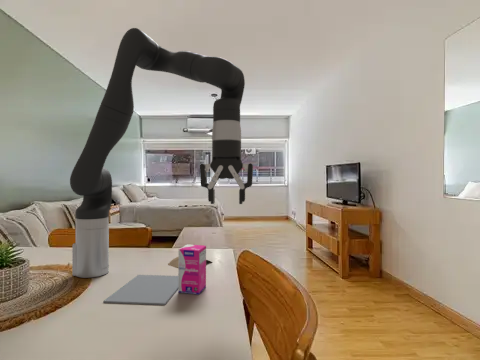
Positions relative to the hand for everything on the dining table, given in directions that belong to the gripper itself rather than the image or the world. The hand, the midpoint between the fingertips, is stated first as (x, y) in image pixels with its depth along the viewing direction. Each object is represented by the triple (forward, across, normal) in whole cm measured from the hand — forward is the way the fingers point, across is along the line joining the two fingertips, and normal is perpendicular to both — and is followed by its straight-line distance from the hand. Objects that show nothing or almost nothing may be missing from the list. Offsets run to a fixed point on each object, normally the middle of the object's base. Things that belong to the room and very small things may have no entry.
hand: (226, 203), depth 81 cm
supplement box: (+23, +9, 0) cm, 25 cm away
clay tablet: (+24, +16, -25) cm, 38 cm away
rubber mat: (+23, +20, 0) cm, 31 cm away
